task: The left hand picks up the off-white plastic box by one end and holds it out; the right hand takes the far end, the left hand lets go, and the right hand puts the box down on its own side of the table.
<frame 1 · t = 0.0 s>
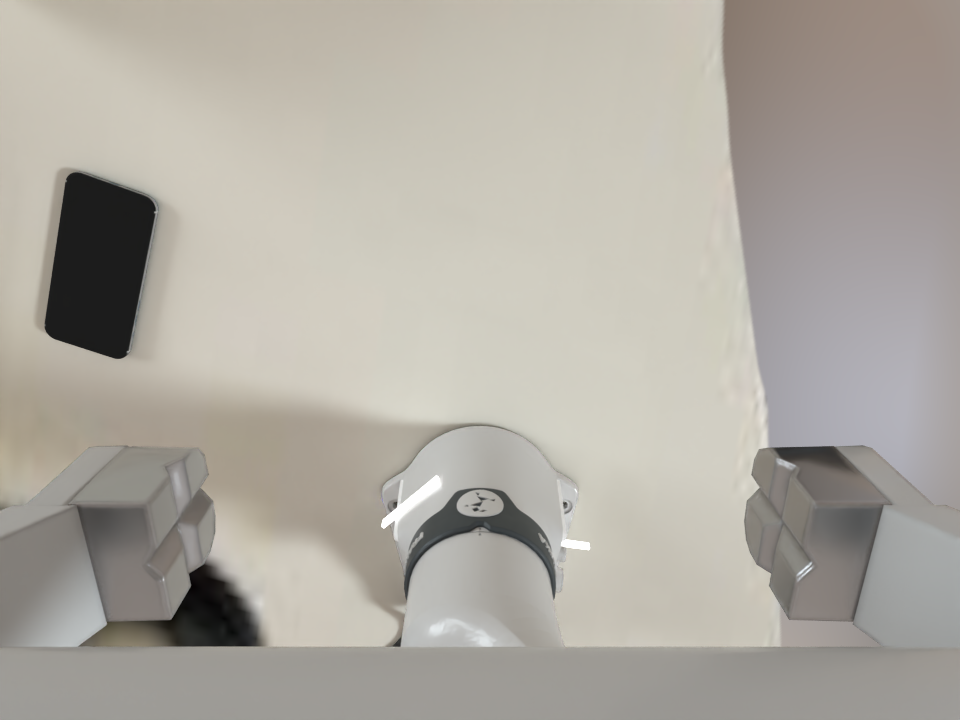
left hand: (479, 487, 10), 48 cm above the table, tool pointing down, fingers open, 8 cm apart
smartphone: (103, 268, 58), on the table
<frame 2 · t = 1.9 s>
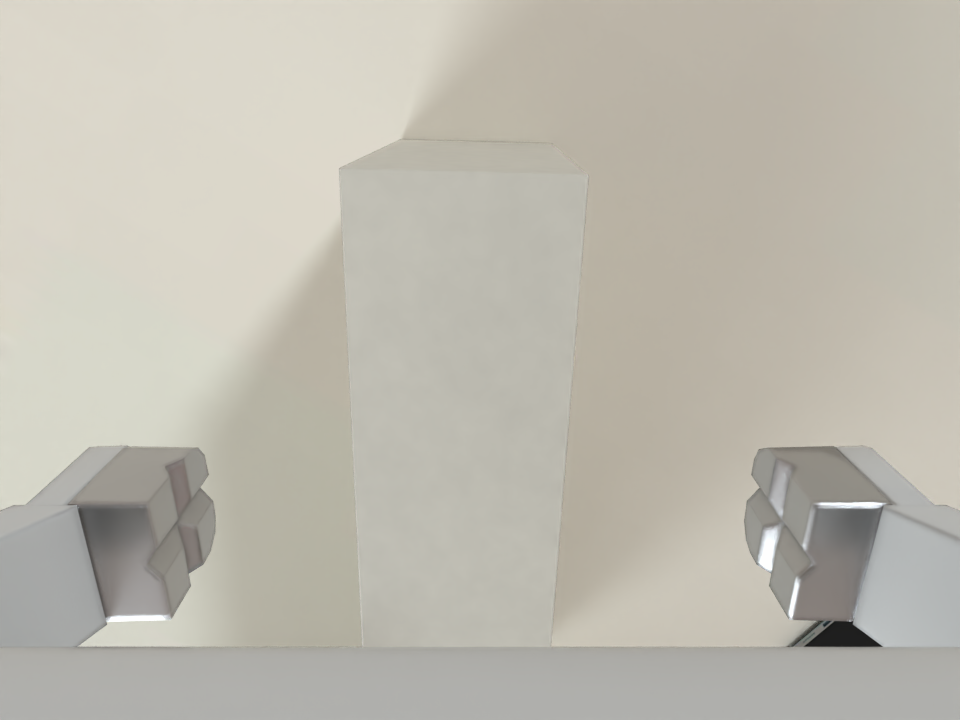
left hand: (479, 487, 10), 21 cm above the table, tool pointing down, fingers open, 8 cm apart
box: (469, 435, 34), on the table
smartphone: (915, 679, 39), on the table
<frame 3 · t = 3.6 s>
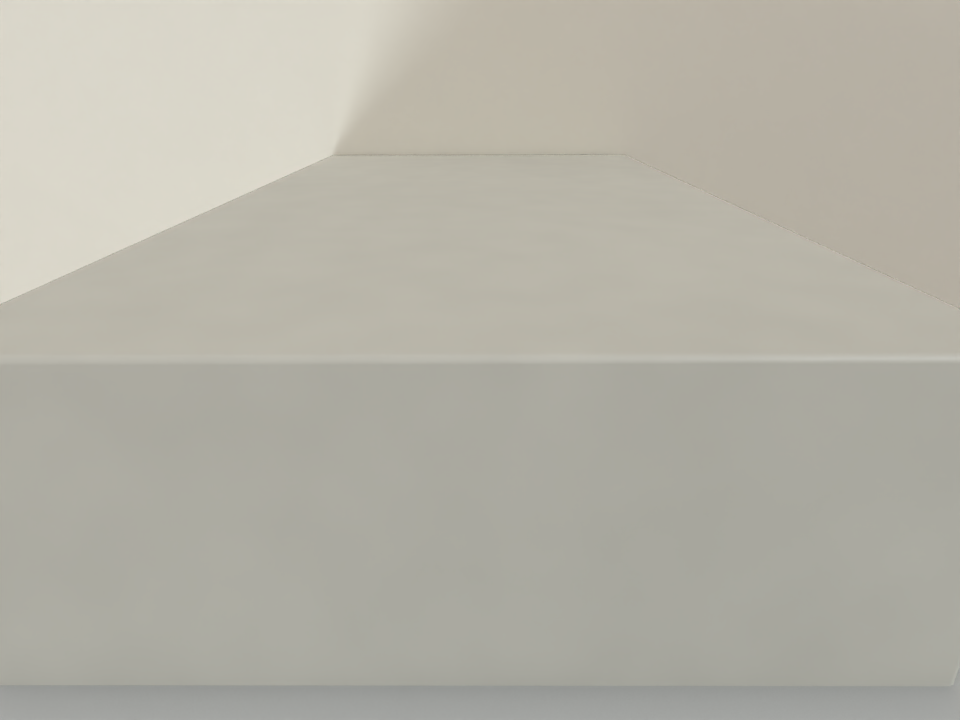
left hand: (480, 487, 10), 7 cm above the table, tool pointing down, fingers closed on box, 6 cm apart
box: (479, 649, 20), on the table, touching left hand
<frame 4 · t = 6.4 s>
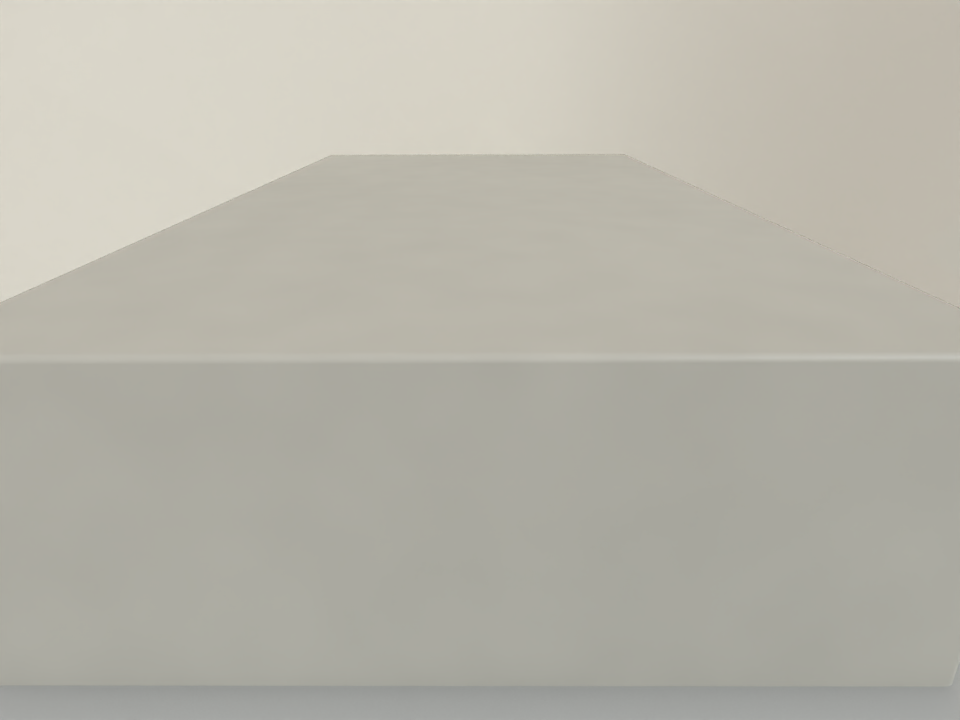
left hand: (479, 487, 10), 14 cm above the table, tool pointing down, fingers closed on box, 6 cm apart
box: (479, 649, 20), point 7 cm above the table, touching left hand
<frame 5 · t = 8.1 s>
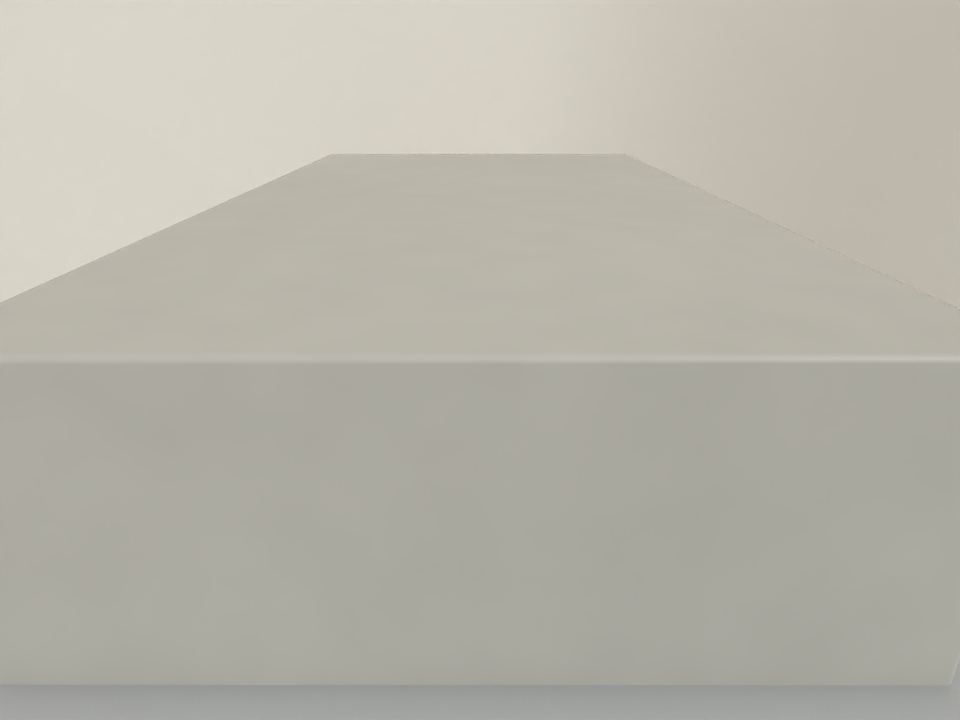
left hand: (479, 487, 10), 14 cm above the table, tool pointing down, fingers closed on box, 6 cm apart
box: (479, 648, 20), point 7 cm above the table, touching left hand, right hand
when the left hand's fingers open (14 cm above the table, at t = 9.1 s): box stays where it is, held by the right hand.
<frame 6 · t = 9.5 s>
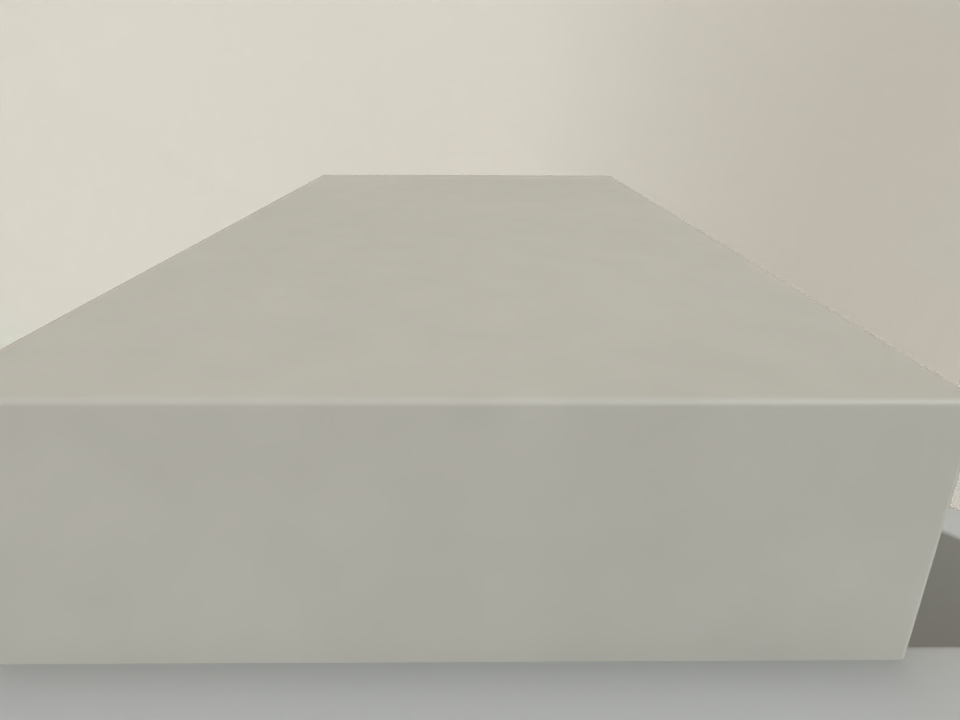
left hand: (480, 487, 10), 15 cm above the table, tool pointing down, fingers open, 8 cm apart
box: (468, 657, 20), point 8 cm above the table, touching right hand
when the right hand's fingers open (4 cm above the table, at t = 12.5 s): box drops 1 cm, on the table.
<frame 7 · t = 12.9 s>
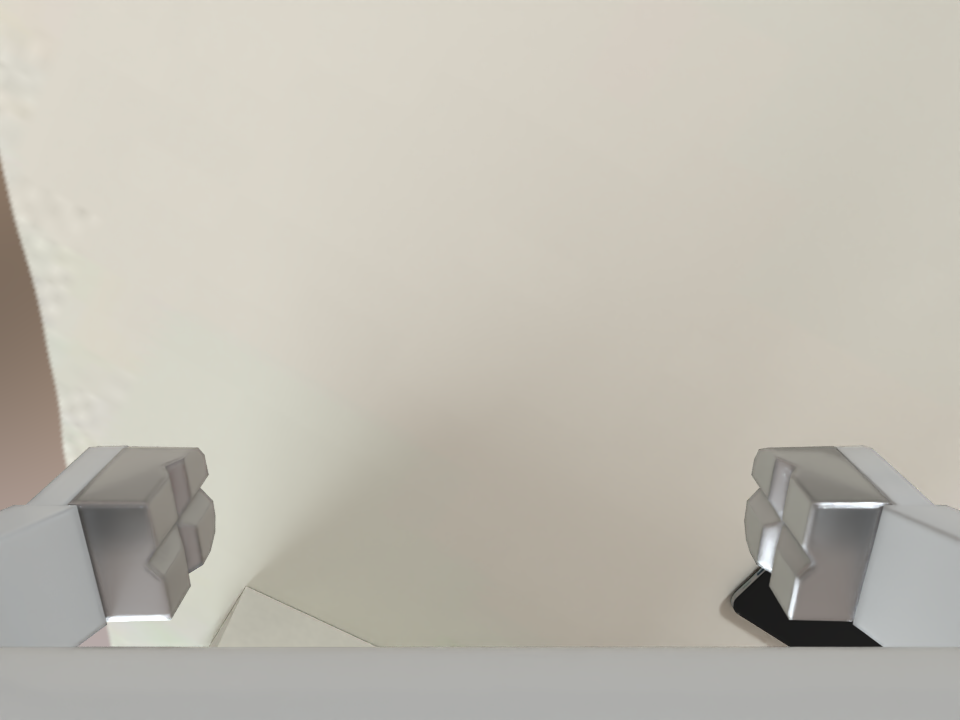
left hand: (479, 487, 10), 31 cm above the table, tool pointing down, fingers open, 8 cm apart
box: (393, 691, 53), on the table
smartphone: (832, 615, 50), on the table
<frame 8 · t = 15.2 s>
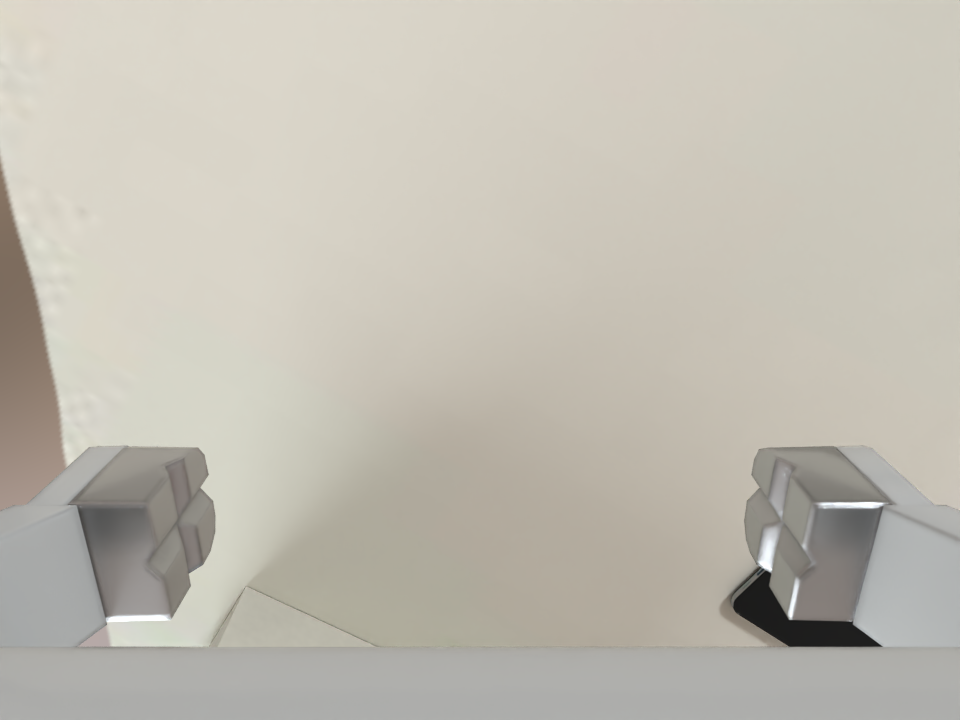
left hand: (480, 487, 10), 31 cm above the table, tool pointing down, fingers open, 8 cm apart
box: (393, 691, 53), on the table
smartphone: (832, 615, 50), on the table
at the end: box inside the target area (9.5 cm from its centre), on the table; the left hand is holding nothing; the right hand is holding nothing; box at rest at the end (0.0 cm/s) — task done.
